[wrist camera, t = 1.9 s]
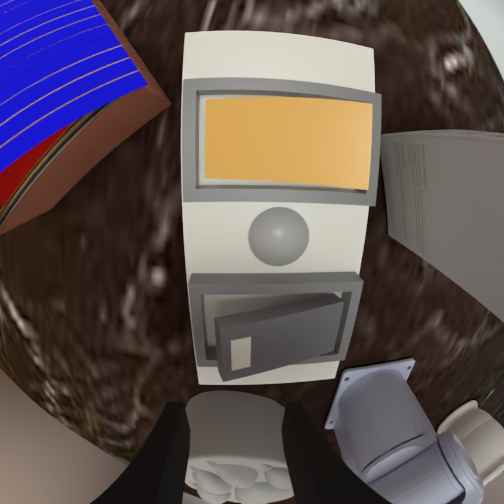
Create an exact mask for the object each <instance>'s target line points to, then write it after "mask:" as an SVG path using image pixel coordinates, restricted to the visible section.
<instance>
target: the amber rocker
mask: <svg viewBox="0 0 504 504" xmlns="http://www.w3.org/2000/svg"><path fill="white" fill-rule="evenodd" d="M372 105H373V104H370V103H362V102H354V101H344V100H334V99H320V98H302V97H241V98H222V99H209V100H206V119H205V179H238V180H259V181H276V182H291V183H304V184H315V185H326V186H336V187H345V188H354V189H362V190H368V187H369V175H370V162H371V144H372Z"/></svg>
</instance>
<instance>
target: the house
mask: <svg viewBox="0 0 504 504" xmlns="http://www.w3.org/2000/svg"><path fill="white" fill-rule="evenodd" d="M171 105H172V104H171V102H170V101H169V99H168V98H167V97H166V95H165V94H164V92H163V91H162V89H161V88H160V86H159V85H158V83H157V82H156V80H155V79H154V77H153V76H152V74H151V73H150V71H149V70H148V69H147V67H146V66H145V64H144V63H143V61H142V60H141V58H140V57H139V55H138V54H137V53H136V51H135V50H134V48H133V47H132V45H131V44H130V42H129V41H128V40H127V38H126V37H125V35H124V34H123V32H122V31H121V29H120V28H119V27H118V25H117V24H116V22H115V21H114V19H113V18H112V17H111V15H110V14H109V12H108V11H107V10H106V8H105V7H104V5H103V4H102V3H101V1H100V0H0V235H1V234H3V233H5V232H7V231H9V230H11V229H12V228H14V227H16V226H18V225H20V224H22V223H24V222H26V221H28V220H30V219H32V218H34V217H36V216H38V215H40V214H43V213H45V212H47V211H49V210H51V209H52V208H53V207H54V206H55V205H56V204H57V203H58V202H59V201H60V199H61V198H62V197H63V196H64V195H65V194H66V193H67V192H68V191H69V190H70V189H71V188H72V187H73V186H74V185H75V184H76V183H77V182H78V181H79V180H80V179H81V178H82V177H83V176H84V175H85V174H86V173H88V172H89V171H90V170H91V169H92V168H93V167H94V166H95V165H96V164H97V163H98V162H99V161H101V160H102V159H103V158H104V157H105V156H106V155H107V154H109V153H110V152H111V151H112V150H113V149H114V148H116V147H117V146H118V145H119V144H120V143H122V142H123V141H124V140H125V139H126V138H128V137H129V136H130V135H131V134H133V133H134V132H135V131H136V130H138V129H139V128H140V127H142V126H143V125H144V124H146V123H147V122H148V121H150V120H151V119H152V118H154V117H155V116H156V115H158V114H159V113H161V112H162V111H163V110H165V109H166V108H168V107H169V106H171ZM81 117H82V118H81ZM79 118H81V119H80V120H79V121H78V122H77V123H76V124H75V125H74V126H73V127H72V128H71V129H70V130H69V131H68V132H67V133H66V134H65V135H64V136H63V137H62V138H61V139H60V140H59V138H60V137H61V136H62V135H63V134H64V133H65V132H66V131H67V130H68V129H69V128H70V127H71V126H72V125H73V124H74V123H75V122H76V121H77V120H78V119H79ZM58 140H59V141H58ZM57 141H58V142H57ZM56 142H57V144H56V145H55V146H54V147H53V148H52V149H51V150H50V151H49V149H50V148H51V147H52V146H53V145H54V144H55V143H56ZM48 151H49V152H48ZM47 152H48V153H47ZM46 153H47V155H46V156H45V157H44V158H43V159H42V157H43V156H44V155H45V154H46ZM41 159H42V160H41ZM40 160H41V162H40V163H39V164H38V165H37V163H38V162H39V161H40ZM36 165H37V166H36ZM35 166H36V168H35V169H34V170H33V168H34V167H35Z"/></svg>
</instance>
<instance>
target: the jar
mask: <svg viewBox="0 0 504 504" xmlns="http://www.w3.org/2000/svg"><path fill="white" fill-rule="evenodd" d="M442 432H447V433H448V432H452V433H454V434H455V435H456V436H457V437H458V438H459V440H460V441H461V442H462V444H463V445H464V447H465V448H466V450H467V452H468V453H469V455H470V457H471V459H472V460H473V462H474V464H475V467H476V469H477V471H478V474H479V476H480V478H481V480H482V482H483V486H484V487H485V486H486V485H487V484H488V483H490V482H491V481H493V480H494V479H495V478H496V477H498V476H499V475H500V474H501V473H502V472H504V429H503V427H502V426H501V425H500V424H499V423H498V422H497V421H496V420H494V419H493V418H492V416H491V415H489V414H488V413H487V412H485V411H483V410H481V409H478V403H477V401H476V400H472V401H469V402H467V403H465V404H463V405H461V406H460V407H458V408H457V409H456V410H454V411H453V412H452V413H451V414H450V415H449V416H448V417H447V418H446V419H445V420H444V421H443V422H442V423H441V424H440V426H439V427H438V430H437V433H438V434H439V435H440V434H441V433H442Z"/></svg>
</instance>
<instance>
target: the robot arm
mask: <svg viewBox="0 0 504 504" xmlns="http://www.w3.org/2000/svg"><path fill="white" fill-rule="evenodd" d="M414 363H415V360H414V359H413V358H409V359H404V360H399V361H394V362H389V363H383V364H377V365H371V366H365V367H358V368H351V369H346V370H344V371H343V372H342V375H341V378H340V381H339V384H338V387H337V391H336V394H335V397H334V400H333V403H332V405H331V408H330V411H329V414H328V417H327V420H326V422H325V425H324V427H325V429H333V428H334V431H335V435H336V438H337V441H338V444H339V447H340V451H341V454H342V457H343V460H342V459H341V458H340V457H339V455H338V454H337V453H336V452H335V450H334V449H333V448H332V447H331V445H330V444H329V442H328V441H327V440H326V438H325V437H324V436H323V434H322V433H321V431H320V430H319V428H318V426H317V425H316V423H315V422H314V420H313V418H312V417H311V415H310V413H309V411H308V409H307V408H306V406H305V404H304V402H303V401H293V402H286V406H285V411H284V417H283V423H282V428H281V431H282V441H283V450H284V455H285V459H286V463H287V468H288V472H289V476H290V480H291V484H292V488H293V492H294V497H295V503H296V504H481V502H482V500H483V492H484V486H483V482H482V480H481V478H480V476H479V474H478V471H477V469H476V467H475V464H474V462H473V460H472V459H471V457H470V455H469V453H468V452H467V450H466V448H465V447H464V445H463V444H462V442H461V441H460V440H459V438H458V437H457V436H456V435H455V434H454V433H452V432H448V433H447V432H442V433H441V434H440V435H438V434H437V433H436V432H435V430H434V428H433V426H432V425H431V423H430V421H429V419H428V418H427V416H426V414H425V413H424V411H423V409H422V407H421V406H420V404H419V402H418V401H417V399H416V397H415V396H414V394H413V392H412V391H411V389H410V387H409V386H408V384H407V382H406V380H407V378H408V376H409V374H410V372H411V370H412V368H413V366H414ZM190 432H191V430H190V426H189V422H188V418H187V414H186V410H185V406H184V403H178V402H167V403H166V405H165V407H164V409H163V411H162V413H161V415H160V417H159V419H158V421H157V423H156V425H155V426H154V428H153V430H152V432H151V433H150V435H149V436H148V438H147V440H146V441H145V443H144V445H143V446H142V448H141V449H140V450H139V452H138V453H137V455H136V456H135V457H134V459H133V460H132V462H131V463H130V464H129V465H128V467H127V468H126V469H125V470H124V472H123V473H122V474H121V475H120V476H119V477H118V479H117V480H116V481H115V482H114V483H113V484H112V485H111V486H110V487H109V488H108V489H107V490H106V491H104V492H103V493H102V494H101V495H100V496H99V497H98V498H96V499H95V500H94V501H93V502H91V503H90V504H182V498H183V491H184V484H185V478H186V472H187V465H188V459H189V453H190Z"/></svg>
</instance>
